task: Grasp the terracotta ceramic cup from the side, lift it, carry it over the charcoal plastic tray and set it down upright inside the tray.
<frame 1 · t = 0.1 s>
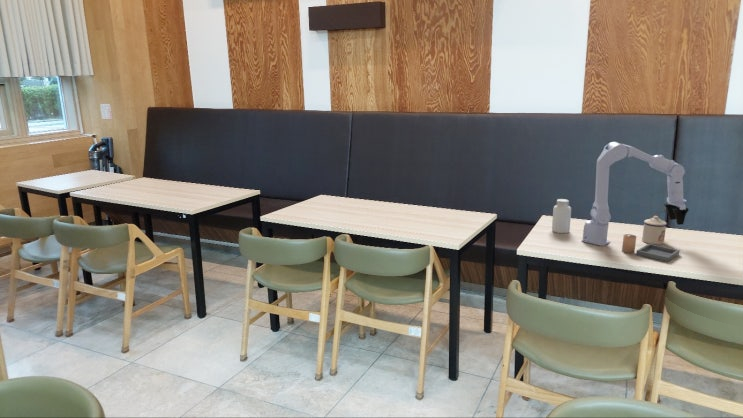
hand: (676, 221, 234), 11 cm above the table, tool pointing down, fingers open, 7 cm apart
pill bottle: (560, 231, 257), on the table
terracotta cup: (628, 251, 228), on the table
teacup with lid: (653, 241, 243), on the table
charcoal tray: (657, 255, 224), on the table
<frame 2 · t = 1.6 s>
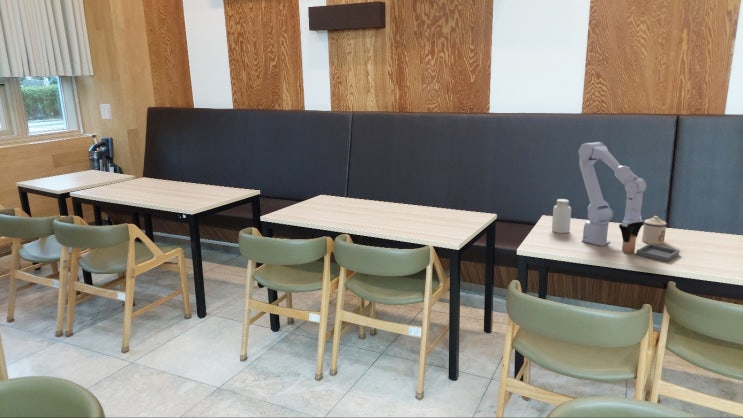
hand: (629, 239, 227), 5 cm above the table, tool pointing down, fingers open, 7 cm apart
nothing on the table moved.
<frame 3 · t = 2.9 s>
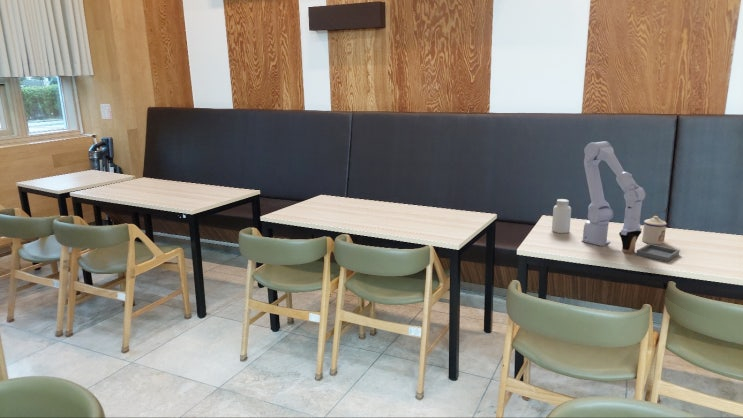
hand: (628, 248, 228), 2 cm above the table, tool pointing down, fingers closed on terracotta cup, 5 cm apart
terracotta cup: (628, 251, 228), on the table, touching gripper
everything else where it was.
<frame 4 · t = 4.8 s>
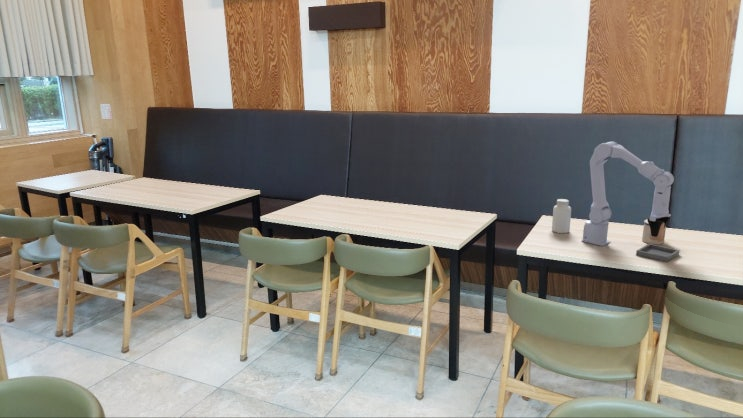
hand: (656, 234, 223), 9 cm above the table, tool pointing down, fingers closed on terracotta cup, 5 cm apart
terracotta cup: (656, 238, 223), point 7 cm above the table, touching gripper
everything else where it was.
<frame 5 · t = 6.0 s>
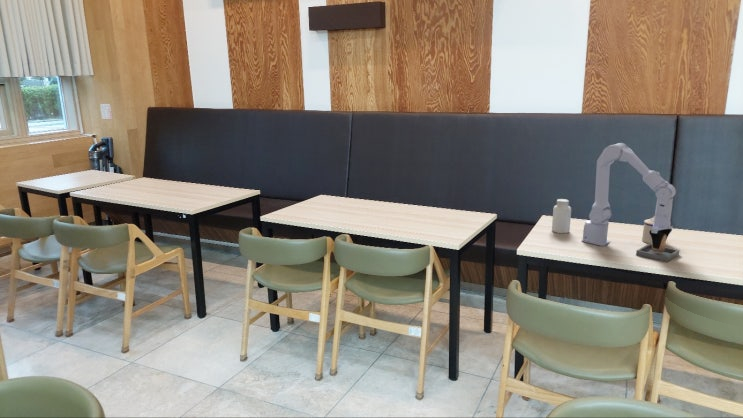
hand: (658, 246, 223), 4 cm above the table, tool pointing down, fingers closed on terracotta cup, 5 cm apart
terracotta cup: (657, 250, 224), point 2 cm above the table, touching gripper
everything else where it was.
when the fingers open (4 cm above the table, at t = 6.7 s): terracotta cup drops 1 cm, resting on charcoal tray.
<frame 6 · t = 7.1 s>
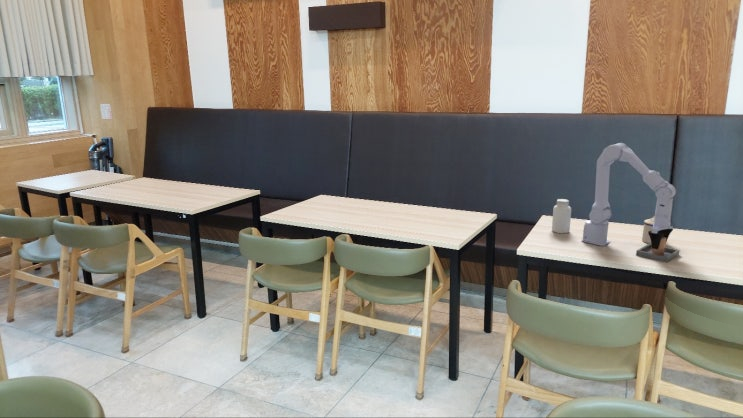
hand: (658, 246, 223), 4 cm above the table, tool pointing down, fingers open, 7 cm apart
terracotta cup: (657, 253, 224), point 1 cm above the table, touching charcoal tray
everything else where it was.
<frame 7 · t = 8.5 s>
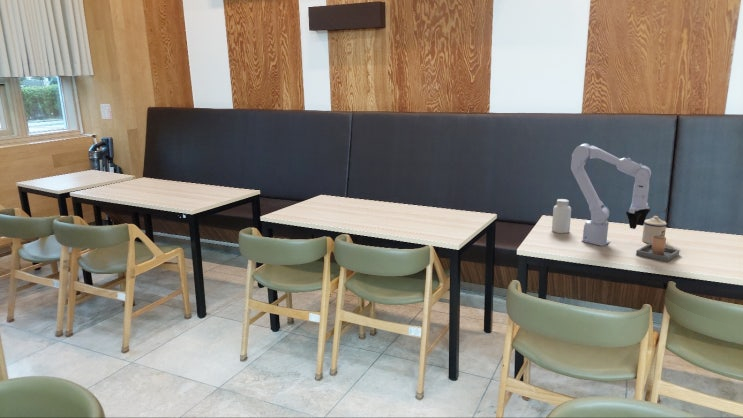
hand: (636, 226, 231), 9 cm above the table, tool pointing down, fingers open, 7 cm apart
nothing on the table moved.
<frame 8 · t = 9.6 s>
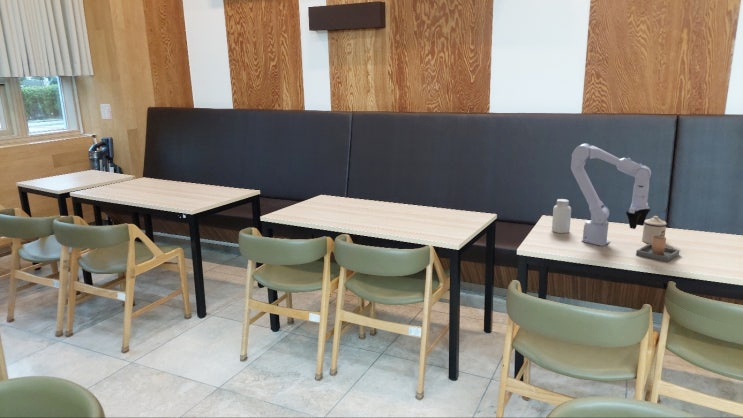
hand: (636, 226, 231), 9 cm above the table, tool pointing down, fingers open, 7 cm apart
nothing on the table moved.
at the end: terracotta cup inside the target area on the charcoal tray (0.1 cm from its centre), point 0.5 cm above the charcoal tray's base; terracotta cup tilted 0°; the gripper is holding nothing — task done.
